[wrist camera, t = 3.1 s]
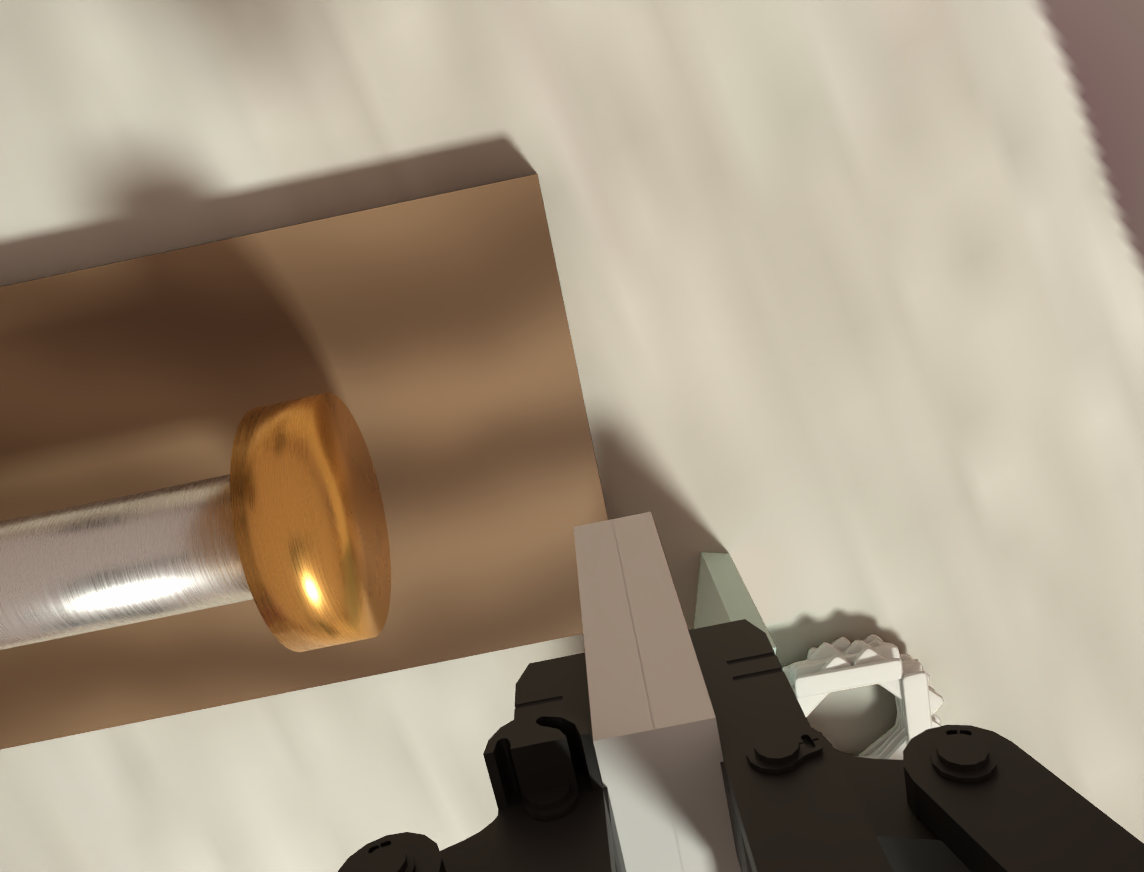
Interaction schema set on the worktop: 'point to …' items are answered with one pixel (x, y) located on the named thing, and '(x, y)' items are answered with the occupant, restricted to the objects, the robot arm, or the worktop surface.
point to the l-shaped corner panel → (828, 660)
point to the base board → (296, 370)
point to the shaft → (218, 542)
